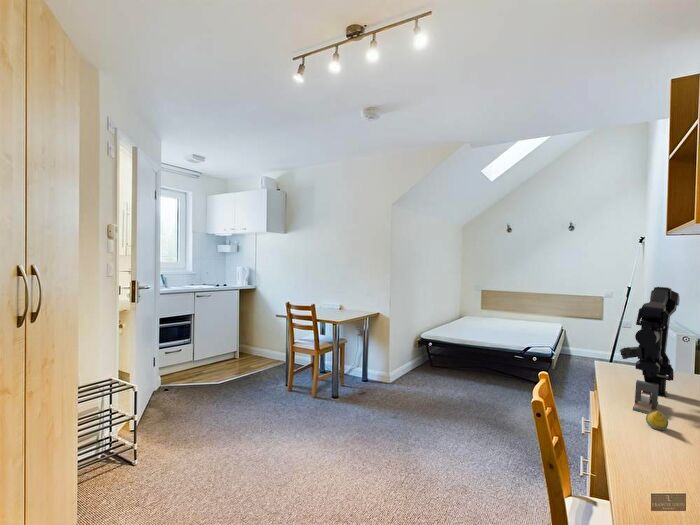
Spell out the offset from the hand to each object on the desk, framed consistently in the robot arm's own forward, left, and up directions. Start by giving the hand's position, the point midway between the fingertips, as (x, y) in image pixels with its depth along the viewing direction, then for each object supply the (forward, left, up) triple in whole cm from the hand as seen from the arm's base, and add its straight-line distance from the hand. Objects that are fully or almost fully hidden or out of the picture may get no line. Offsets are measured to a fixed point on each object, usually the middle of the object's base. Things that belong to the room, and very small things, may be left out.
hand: (647, 386), depth 135 cm
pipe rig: (+2, 0, -7) cm, 7 cm away
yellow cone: (+21, +5, -7) cm, 23 cm away
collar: (+3, 0, -6) cm, 6 cm away
